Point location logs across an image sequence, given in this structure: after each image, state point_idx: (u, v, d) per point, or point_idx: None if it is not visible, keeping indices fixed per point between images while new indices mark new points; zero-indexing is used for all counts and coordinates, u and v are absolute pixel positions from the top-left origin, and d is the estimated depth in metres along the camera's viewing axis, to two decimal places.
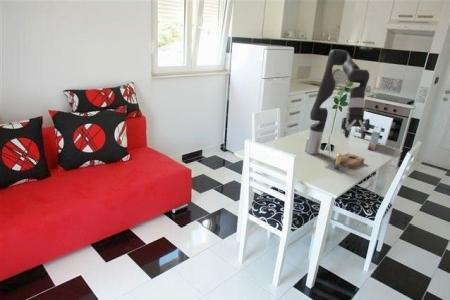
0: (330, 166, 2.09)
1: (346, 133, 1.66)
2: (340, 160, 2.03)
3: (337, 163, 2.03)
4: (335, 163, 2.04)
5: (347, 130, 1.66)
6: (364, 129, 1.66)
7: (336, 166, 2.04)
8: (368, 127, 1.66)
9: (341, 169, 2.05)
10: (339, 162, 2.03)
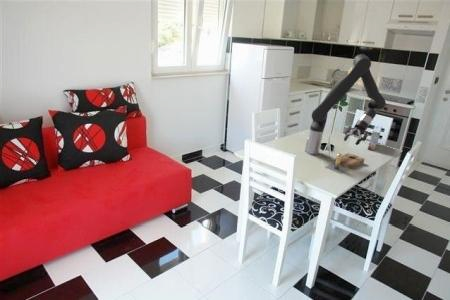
0: (330, 166, 2.09)
1: None
2: (340, 160, 2.03)
3: (337, 163, 2.03)
4: (335, 163, 2.04)
5: None
6: (348, 135, 2.12)
7: (336, 166, 2.04)
8: None
9: (341, 169, 2.05)
10: (339, 162, 2.03)
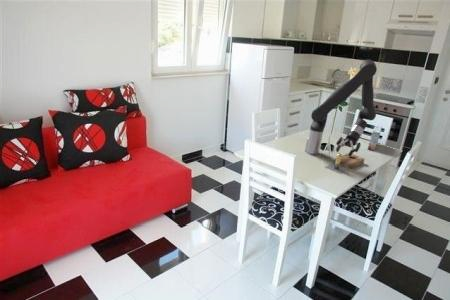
0: (330, 166, 2.09)
1: None
2: (340, 160, 2.03)
3: (337, 163, 2.03)
4: (335, 163, 2.05)
5: None
6: None
7: (336, 166, 2.04)
8: None
9: (341, 169, 2.05)
10: (339, 162, 2.03)
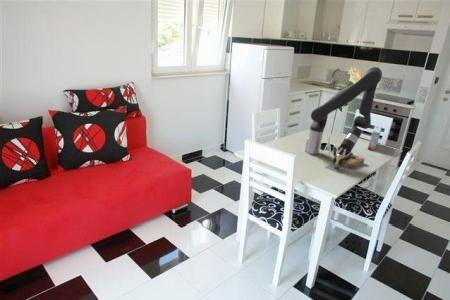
0: (330, 166, 2.09)
1: None
2: None
3: (337, 163, 2.03)
4: (335, 163, 2.05)
5: None
6: None
7: (336, 166, 2.04)
8: None
9: (341, 169, 2.05)
10: None
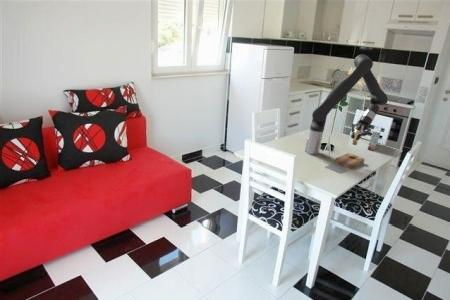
0: (330, 166, 2.09)
1: None
2: None
3: (355, 139, 2.10)
4: (353, 139, 2.11)
5: None
6: None
7: (354, 142, 2.11)
8: None
9: (341, 169, 2.05)
10: None
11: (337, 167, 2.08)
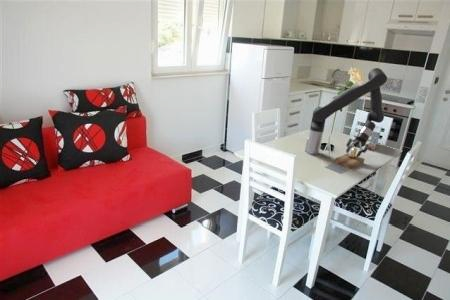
0: (330, 166, 2.09)
1: None
2: (355, 154, 2.16)
3: (352, 157, 2.16)
4: (350, 157, 2.18)
5: None
6: (350, 147, 2.20)
7: None
8: None
9: (341, 169, 2.05)
10: (354, 156, 2.16)
11: (337, 167, 2.08)
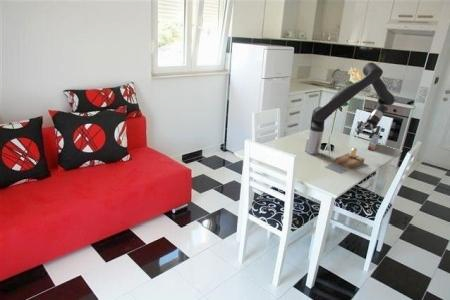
0: (330, 166, 2.09)
1: None
2: (355, 154, 2.16)
3: (352, 157, 2.16)
4: (350, 157, 2.18)
5: None
6: (361, 129, 2.23)
7: None
8: None
9: (341, 169, 2.05)
10: (354, 156, 2.16)
11: (337, 167, 2.08)
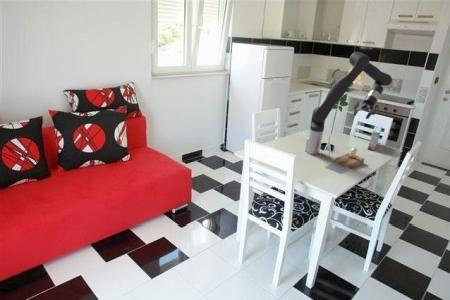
0: (330, 166, 2.09)
1: None
2: (355, 154, 2.16)
3: (352, 157, 2.16)
4: (350, 157, 2.18)
5: None
6: (357, 110, 2.20)
7: None
8: None
9: (341, 169, 2.05)
10: (354, 156, 2.16)
11: (337, 167, 2.08)
